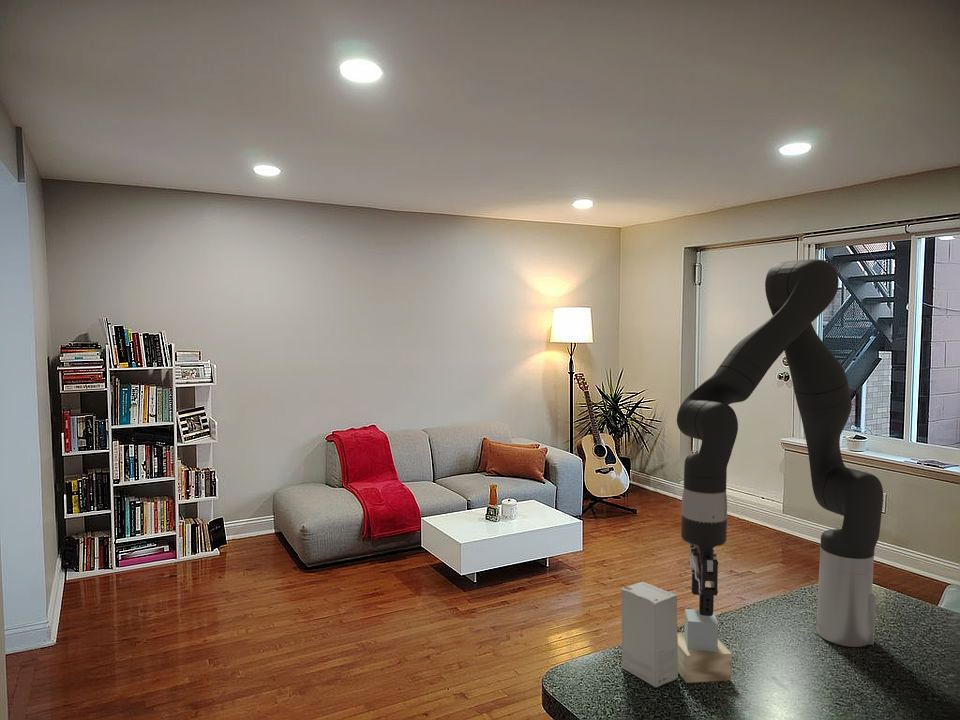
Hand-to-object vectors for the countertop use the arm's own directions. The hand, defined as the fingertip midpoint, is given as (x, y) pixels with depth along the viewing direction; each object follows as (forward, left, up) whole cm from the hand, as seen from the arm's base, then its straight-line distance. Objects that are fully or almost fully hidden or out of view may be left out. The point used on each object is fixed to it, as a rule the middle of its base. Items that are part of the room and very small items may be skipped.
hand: (701, 604), depth 119 cm
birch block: (0, 0, -12) cm, 12 cm away
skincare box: (+9, +3, -12) cm, 16 cm away
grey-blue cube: (0, 0, -7) cm, 7 cm away
